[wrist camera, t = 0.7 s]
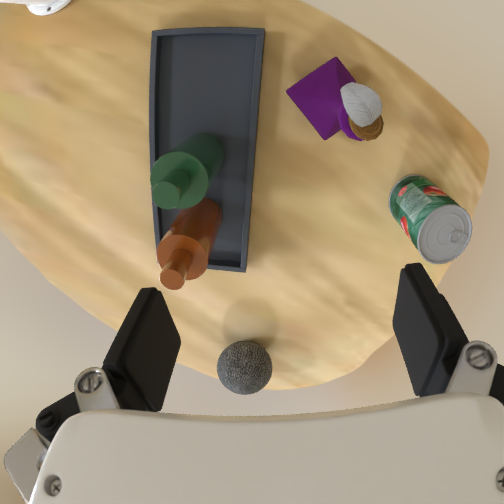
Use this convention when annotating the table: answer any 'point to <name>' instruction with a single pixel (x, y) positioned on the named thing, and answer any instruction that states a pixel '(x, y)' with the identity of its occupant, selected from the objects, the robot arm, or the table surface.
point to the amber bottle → (189, 243)
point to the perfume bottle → (338, 103)
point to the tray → (210, 120)
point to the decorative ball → (244, 367)
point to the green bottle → (186, 171)
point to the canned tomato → (430, 219)
